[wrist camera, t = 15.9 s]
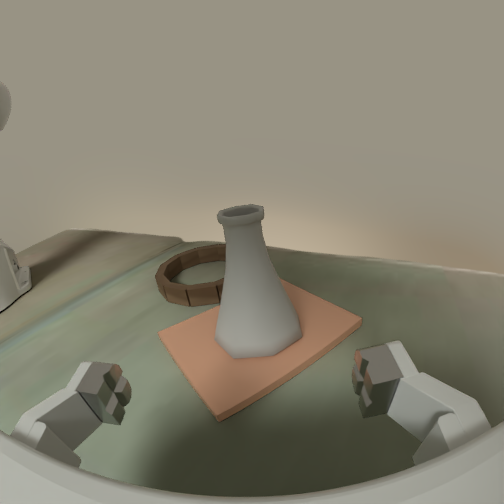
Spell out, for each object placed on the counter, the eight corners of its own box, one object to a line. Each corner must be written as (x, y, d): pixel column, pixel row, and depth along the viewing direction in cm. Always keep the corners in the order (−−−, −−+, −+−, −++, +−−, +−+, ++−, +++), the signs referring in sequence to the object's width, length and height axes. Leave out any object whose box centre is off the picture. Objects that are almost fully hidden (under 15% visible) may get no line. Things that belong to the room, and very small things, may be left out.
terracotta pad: (159, 339, 24) (157, 332, 23) (279, 284, 30) (278, 277, 30) (219, 422, 15) (216, 415, 15) (361, 325, 22) (362, 317, 22)
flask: (207, 318, 25) (183, 210, 21) (281, 298, 26) (271, 193, 22) (225, 372, 18) (191, 237, 14) (318, 342, 20) (315, 211, 16)
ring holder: (149, 279, 36) (145, 265, 35) (225, 250, 42) (223, 238, 41) (182, 319, 26) (177, 302, 25) (277, 276, 32) (276, 260, 31)
